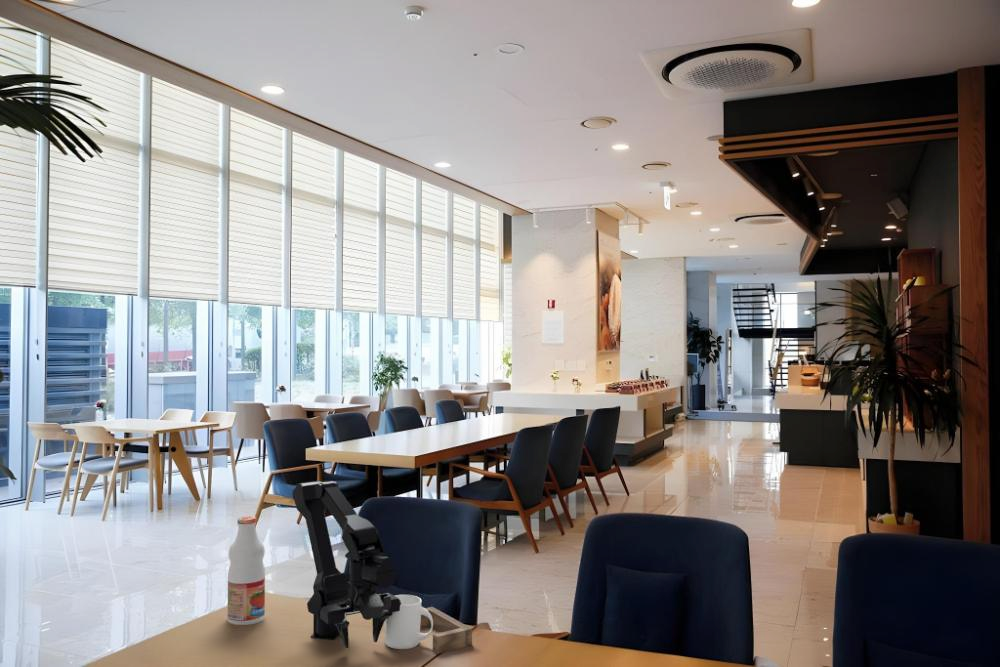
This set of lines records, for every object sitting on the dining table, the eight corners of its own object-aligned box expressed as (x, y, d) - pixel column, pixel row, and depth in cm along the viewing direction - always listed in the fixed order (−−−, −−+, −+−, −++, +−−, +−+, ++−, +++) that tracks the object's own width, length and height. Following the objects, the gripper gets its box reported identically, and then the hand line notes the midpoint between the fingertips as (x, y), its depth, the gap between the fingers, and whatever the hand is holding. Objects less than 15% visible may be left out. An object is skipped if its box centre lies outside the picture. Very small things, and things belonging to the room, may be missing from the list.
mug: (426, 653, 186) (428, 608, 187) (379, 647, 189) (381, 602, 189) (436, 641, 194) (439, 598, 195) (391, 635, 197) (393, 593, 197)
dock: (436, 653, 186) (436, 636, 186) (398, 629, 202) (398, 613, 203) (472, 645, 192) (472, 628, 192) (432, 621, 208) (432, 606, 208)
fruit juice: (231, 618, 210) (233, 514, 211) (267, 617, 211) (268, 514, 212) (223, 631, 201) (224, 522, 202) (260, 629, 202) (261, 521, 203)
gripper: (337, 594, 174) (336, 664, 174) (411, 580, 185) (411, 647, 184) (319, 582, 183) (319, 649, 183) (391, 570, 194) (391, 633, 193)
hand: (361, 644), depth 186 cm, fingers open, 7 cm apart
